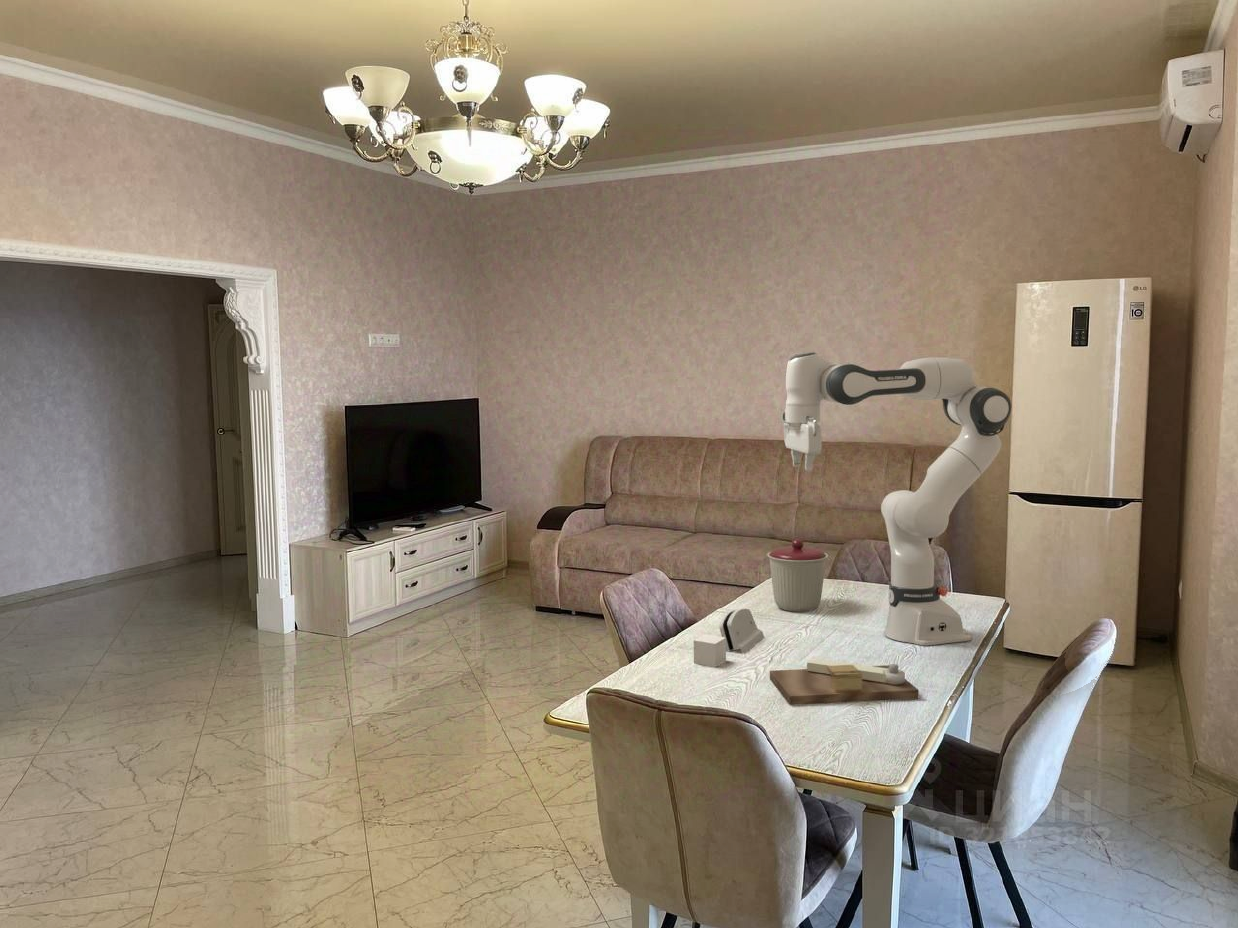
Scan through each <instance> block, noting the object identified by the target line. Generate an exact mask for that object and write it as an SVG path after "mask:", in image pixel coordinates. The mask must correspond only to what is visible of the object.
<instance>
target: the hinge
mask: <svg viewBox="0 0 1238 928" xmlns="http://www.w3.org/2000/svg"><path fill="white" fill-rule="evenodd" d="M719 632H720V635H721V636H720V637H725V638H726V653H727V652H728V653H729V652H731V651H732V650H733V651H737V650H741V652H742V653H744V654H746V653H747V652H748V651H750V650H751V649H752V648H753V647H755V646H756V645H757V644H758V643H759V642H761V640H762V639H764V638H765V636H764V632H763V631H762V630H761V629H760V628H758V626H757V624H756V621H755V619H754V617H753V613H752V611H751V610H750V609H748V608H739V609H735V610H732V611H730V612H728V613H727V614H726V613H725V615H724V616H723V617H722V619H721V620H720V622H719ZM742 653H741V654H742Z"/></svg>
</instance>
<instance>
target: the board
mask: <svg viewBox="0 0 1238 928" xmlns="http://www.w3.org/2000/svg"><path fill="white" fill-rule="evenodd" d="M889 665H890V664H887V665H872V666H873V667H880V668H887V669H889ZM769 680H770V681H771V682H772V684H773V685H774V687H775V688H776V689H777V690H778V692H779V693H780V695H781V696H782V697H783V698H784V699H785V701H786V702H787V704H788V705H789V706H799V705H801V706H803V705H820V704H840V703H857V702H858V703H860V702H879V701H881V702H882V701H900V700H902V701H903V700H919V694H920V693H919V689H918V688H917V687H916V686H914V685H913V684H912V683H911V682H910V681H908V680H907V678H905V682H904V683H903V684H899V685H893V684H888V683H884V682H877V681H871V680H864V679H862V691H853V692H834V690H833V689H832V675H831V674H826V673H819V672H813V671H807V668H802V669H801V668H800V669H797V668H796V669H784V670H783V669H779V670H769Z"/></svg>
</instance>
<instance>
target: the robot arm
mask: <svg viewBox="0 0 1238 928" xmlns="http://www.w3.org/2000/svg"><path fill="white" fill-rule="evenodd" d="M785 373H786V374H785V391H786V395H787V396H786V401H785V409H784V411H783V412H782V413H781V421H782V422H783V439H784V445H785V448H786V449H790V452H791V453H790V454H791V458H792V466H793V467H795V468H800V467H802V460H801V453H803V454H804V458H805V461H804V465H803V467H804V468H803V469H804V470H805V471H806V472H812V471H813V470H814V461H815V457H816V456H815V455H820V454H821V453H822V450H823V449H822V448H823V443H822V442H823V440H822V429H821V425H820V424H819V423H821V401H824V400H825V401H827V402H830V403H839V404H841V405H845V406H846V405H847V406H851V405H855V404H858V403H860V402H863V401H864V400H866V399H868V398H871V397H875V396H876V397H877V396H888V395H889V396H890V395H902V396H903V397H904V398H905V399H910V400H918V401H919V400H922V401H927V400H928V401H930V400H941V401H942V407H943V412H944V414H945V417H946V418H947V419H948V420H949V421H950V422H952V423H953V424H955V425H958V426H962V427H961V430H960V433H959V434H958V436H957V439H955V441H953V443H951V444H950V445H949V446H948V447H947V448H946V449H945V450H944V451H943V452H942V453H941V454H940V455H939V456H938V457H937V458H936V459H935V461H934V462H933V463H931V465H929V467H928V468H927V471H926V476H925V478H924V480H923V481H922V483H921V485H920V486H919V488H918V489H917V490H915V492H914V491H912V490H907V489H903V490H900V489H899V490H895V491H892V492H890V493H889V494H886V496H885V497H884V498H883V500H882V503H881V506H880V507H881V508H880V509H881V511H880V512H881V514H882V517H883V519H884V523H885V527H886V532H887V533H886V534H887V538H888V544H889V549H890V582H889V584H888V604H889V609H888V615H887V621H886V625H885V629H884V630H883V634H884V636H885V637H887V638H889V639H891V640H894V641H898V642H903V643H911V644H915V645H918V646H933V645H934V646H935V645H936V646H937V645H942V644H950V643H951V644H952V643H960V642H969V641H972V639H973V637H972V633H970V631H968V630H967V629H966V628H964V627H963V626H964V625H963V621H962V617H961V615H960V614H959V612H958V611H956V610H955V609H954V608H953V607H952V606H950V605H949V604H948V603H946V602H945V600H942V598H941V597H946V596H947V595H948V593H949V592H948V590H947V589H946V588H944V587H939V586H937V585H935V556H934V553H933V551H932V548H931V546H930V541H929V539H933V538H937V537H939V536H940V535H942V534H943V533H944V532H945V531H946V529H947V528H948V526H949V520H950V514H951V513H952V511H953V509H954V507H955V506H956V504H957V503H958V501H959V500H960V498H961V497H962V496H963V495H964V493H966V491H968V490H969V488H970V487H971V486H972V485H973V484H974V483H975V482H976V480H977V479H979V478H980V476H982V474H983V473H985V471H986V470H987V469H988V468H989V467H990V465H992V463H993V462H994V461H995V459H996V457H997V455H998V454H999V452H1000V451H1001V448H1002V441H1001V438H1000V437H999V435H998V434H1000V433H1001V432H1002V431H1003V430H1004V428H1005V425H1006V423H1007V422H1008V420H1009V418H1010V416H1011V412H1012V406H1013V405H1012V401H1011V399H1010V397H1009V396H1008V395H1007V394H1006V393H1005V392H1004V391H1002V390H1000V389H997V388H994V387H987V386H983V385H982V386H979V385H978V384H976V382H975V373H974V368H973V366H972V365H971V364H970V362H968V361H966V360H964V359H960V358H952V357H923V358H917V359H913V360H908V361H905V362H904V363H903V364H902V365H901V366H900V368H895V369H880V370H869V369H866V368H864V367H861V366H860V365H856V364H850V363H847V364H840V365H839V364H836V363H834V362H831V361H829V360H826V359H825V358H823V357H822V356H821V355H820V354H818V353H816V352H806V353H799V354H796V355H793V356H791V358H790V359H789V360H788V361H787V366H786V372H785Z"/></svg>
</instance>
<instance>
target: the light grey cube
mask: <svg viewBox="0 0 1238 928" xmlns="http://www.w3.org/2000/svg"><path fill="white" fill-rule="evenodd" d="M726 661H727V652H726V638H725V637H722V636H719V635H711V634H706V633H705V634H702V635H701V636H699V637H697V638H694V640H693V664H696V665H702V666H707V667H712V668H716V667H718V666H719V665H722V664H723V663H725V662H726Z"/></svg>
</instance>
